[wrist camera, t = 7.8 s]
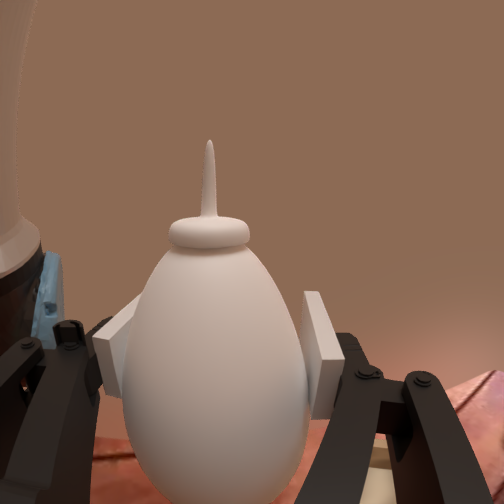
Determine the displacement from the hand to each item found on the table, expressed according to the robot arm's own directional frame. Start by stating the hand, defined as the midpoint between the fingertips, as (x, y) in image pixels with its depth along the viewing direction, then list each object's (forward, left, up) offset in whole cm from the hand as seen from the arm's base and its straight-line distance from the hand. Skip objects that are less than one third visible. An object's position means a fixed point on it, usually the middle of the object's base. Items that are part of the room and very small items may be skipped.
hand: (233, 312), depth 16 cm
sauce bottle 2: (+2, -5, -10) cm, 11 cm away
